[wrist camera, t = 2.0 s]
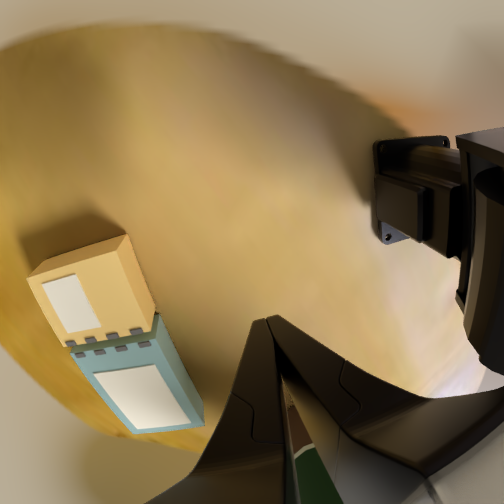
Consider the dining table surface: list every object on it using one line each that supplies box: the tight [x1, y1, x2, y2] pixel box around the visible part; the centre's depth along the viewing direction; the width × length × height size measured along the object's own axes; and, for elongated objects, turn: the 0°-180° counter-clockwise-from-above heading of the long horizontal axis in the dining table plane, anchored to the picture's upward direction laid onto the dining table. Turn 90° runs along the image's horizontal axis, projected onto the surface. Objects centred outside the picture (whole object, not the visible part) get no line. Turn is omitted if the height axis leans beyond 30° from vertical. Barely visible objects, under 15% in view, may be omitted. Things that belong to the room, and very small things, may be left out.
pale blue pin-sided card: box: [70, 314, 205, 434], centre depth 17 cm, size 6×9×2 cm, turn 11°
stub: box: [26, 234, 156, 347], centre depth 14 cm, size 6×5×2 cm
